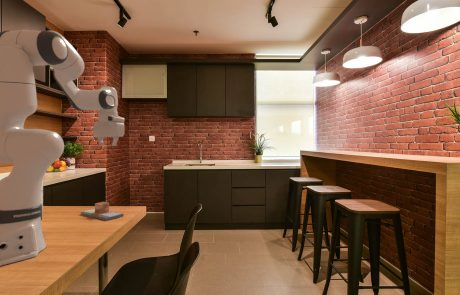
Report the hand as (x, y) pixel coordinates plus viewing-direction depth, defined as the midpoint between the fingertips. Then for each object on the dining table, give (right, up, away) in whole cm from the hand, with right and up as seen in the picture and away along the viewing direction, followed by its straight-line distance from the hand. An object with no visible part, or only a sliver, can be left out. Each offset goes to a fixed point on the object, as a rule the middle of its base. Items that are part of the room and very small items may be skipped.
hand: (107, 145), depth 132 cm
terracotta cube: (0, -33, -6) cm, 33 cm away
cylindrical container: (-29, -34, -12) cm, 46 cm away
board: (0, -34, -6) cm, 35 cm away
